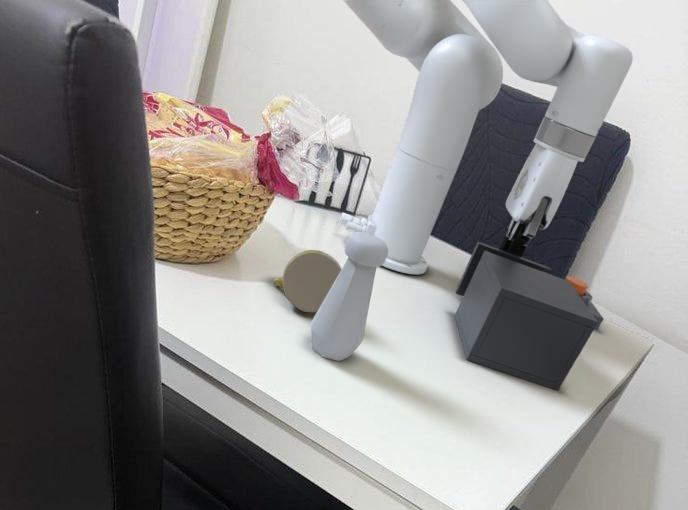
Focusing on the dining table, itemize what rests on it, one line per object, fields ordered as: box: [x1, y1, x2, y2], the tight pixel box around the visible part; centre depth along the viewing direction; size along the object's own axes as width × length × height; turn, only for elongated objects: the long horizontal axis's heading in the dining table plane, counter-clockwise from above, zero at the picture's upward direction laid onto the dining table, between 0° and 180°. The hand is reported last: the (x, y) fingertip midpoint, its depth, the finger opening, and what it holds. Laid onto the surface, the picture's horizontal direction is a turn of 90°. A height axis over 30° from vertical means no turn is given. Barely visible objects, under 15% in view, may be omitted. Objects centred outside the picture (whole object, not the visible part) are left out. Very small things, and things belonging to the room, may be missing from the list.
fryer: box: [454, 251, 598, 391], centre depth 93 cm, size 15×13×10 cm
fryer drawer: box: [455, 241, 552, 297], centre depth 102 cm, size 18×12×8 cm, turn 177°
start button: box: [564, 275, 589, 296], centre depth 120 cm, size 4×4×2 cm
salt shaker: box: [310, 232, 388, 362], centre depth 74 cm, size 6×6×13 cm
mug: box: [273, 249, 342, 314], centre depth 85 cm, size 8×10×10 cm
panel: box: [578, 290, 604, 331], centre depth 121 cm, size 11×9×4 cm
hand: (504, 265), depth 108 cm, fingers closed
